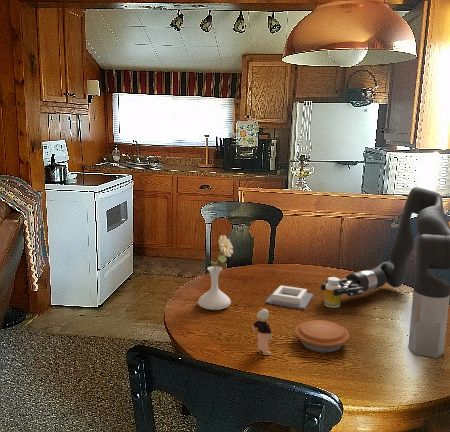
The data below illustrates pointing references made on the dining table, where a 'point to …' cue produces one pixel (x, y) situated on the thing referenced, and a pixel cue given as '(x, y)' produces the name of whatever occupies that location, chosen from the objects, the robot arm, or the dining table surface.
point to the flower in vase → (214, 296)
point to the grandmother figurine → (263, 331)
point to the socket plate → (290, 297)
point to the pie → (322, 335)
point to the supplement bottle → (329, 297)
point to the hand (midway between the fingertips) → (327, 290)
